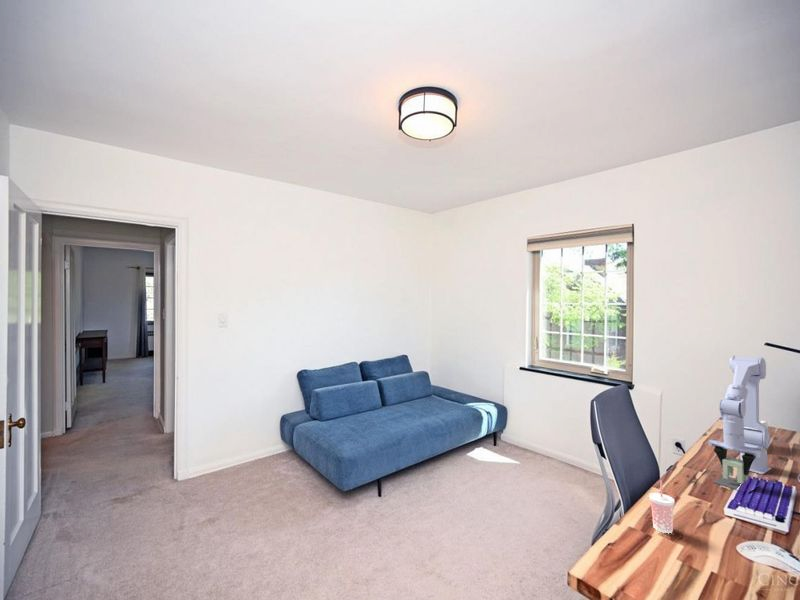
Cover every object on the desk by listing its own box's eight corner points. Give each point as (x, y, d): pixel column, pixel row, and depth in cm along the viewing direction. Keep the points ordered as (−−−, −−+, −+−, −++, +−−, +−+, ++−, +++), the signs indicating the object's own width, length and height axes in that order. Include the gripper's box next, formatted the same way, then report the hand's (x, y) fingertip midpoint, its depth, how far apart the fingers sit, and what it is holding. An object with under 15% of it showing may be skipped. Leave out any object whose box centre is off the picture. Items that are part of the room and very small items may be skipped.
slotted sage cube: (728, 473, 140) (728, 456, 140) (748, 479, 135) (747, 461, 135) (722, 477, 137) (722, 459, 137) (742, 483, 132) (742, 465, 132)
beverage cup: (667, 537, 105) (665, 486, 106) (645, 526, 111) (643, 478, 111) (680, 532, 108) (678, 482, 108) (658, 521, 113) (656, 474, 114)
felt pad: (724, 476, 143) (724, 475, 143) (759, 486, 134) (759, 485, 134) (712, 482, 138) (712, 481, 138) (748, 493, 129) (748, 492, 129)
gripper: (704, 430, 141) (706, 467, 140) (756, 441, 128) (757, 481, 128) (712, 426, 144) (714, 462, 144) (763, 437, 132) (765, 476, 132)
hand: (735, 471), depth 136 cm, fingers closed on slotted sage cube, 5 cm apart
